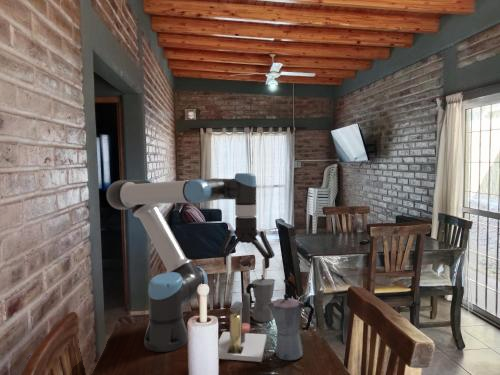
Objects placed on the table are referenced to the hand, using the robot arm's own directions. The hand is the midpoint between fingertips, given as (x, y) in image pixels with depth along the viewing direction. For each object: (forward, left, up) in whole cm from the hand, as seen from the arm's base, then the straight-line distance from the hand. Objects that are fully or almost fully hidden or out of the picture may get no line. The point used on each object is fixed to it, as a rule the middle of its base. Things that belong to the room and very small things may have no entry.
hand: (246, 275), depth 127 cm
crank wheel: (-1, -5, -22) cm, 22 cm away
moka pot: (+16, -8, -23) cm, 30 cm away
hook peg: (-2, -11, -23) cm, 26 cm away
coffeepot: (+3, +19, -24) cm, 30 cm away
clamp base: (-1, -6, -23) cm, 24 cm away
